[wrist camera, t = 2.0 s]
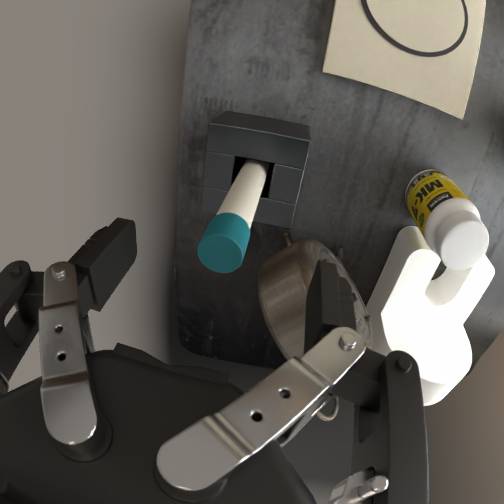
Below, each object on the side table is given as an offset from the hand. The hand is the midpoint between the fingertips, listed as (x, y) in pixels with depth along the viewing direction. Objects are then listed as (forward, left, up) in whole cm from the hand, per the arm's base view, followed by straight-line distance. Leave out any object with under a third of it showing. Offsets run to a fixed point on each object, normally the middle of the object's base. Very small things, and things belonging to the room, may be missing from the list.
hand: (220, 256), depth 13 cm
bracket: (+20, +10, -14) cm, 26 cm away
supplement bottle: (+7, +13, -14) cm, 21 cm away
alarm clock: (+11, +2, -14) cm, 18 cm away
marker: (0, 0, -14) cm, 14 cm away
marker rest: (0, 0, -14) cm, 14 cm away
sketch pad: (-9, +16, -14) cm, 23 cm away
